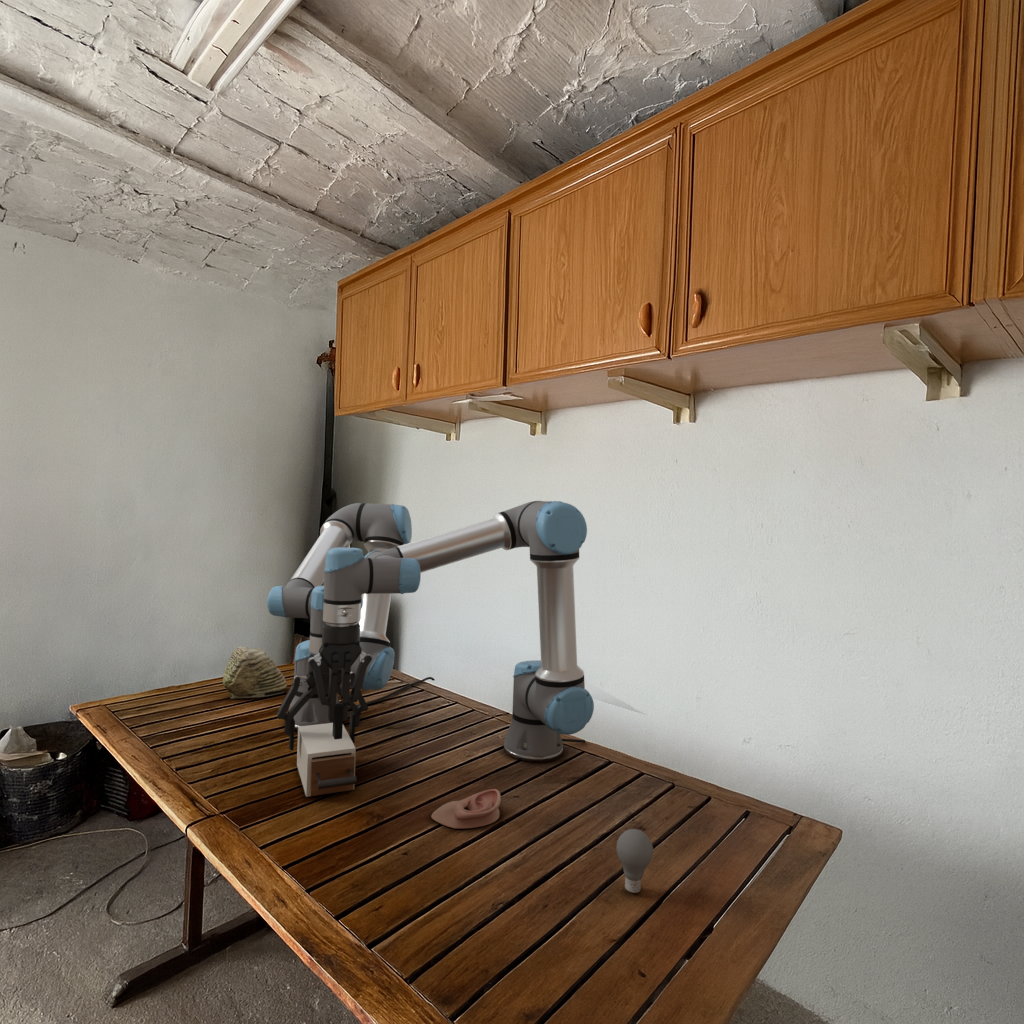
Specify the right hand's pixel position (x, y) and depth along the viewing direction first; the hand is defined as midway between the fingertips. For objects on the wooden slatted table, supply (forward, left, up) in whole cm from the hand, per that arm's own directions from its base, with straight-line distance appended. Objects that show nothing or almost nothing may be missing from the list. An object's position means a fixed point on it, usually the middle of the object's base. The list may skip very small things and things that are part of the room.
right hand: (337, 736), depth 131 cm
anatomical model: (-24, +13, -14) cm, 31 cm away
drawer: (0, -8, -13) cm, 15 cm away
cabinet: (+1, -14, -14) cm, 20 cm away
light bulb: (-43, +46, -14) cm, 64 cm away
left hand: (+1, -18, -8) cm, 20 cm away
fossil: (+14, -79, -14) cm, 82 cm away
